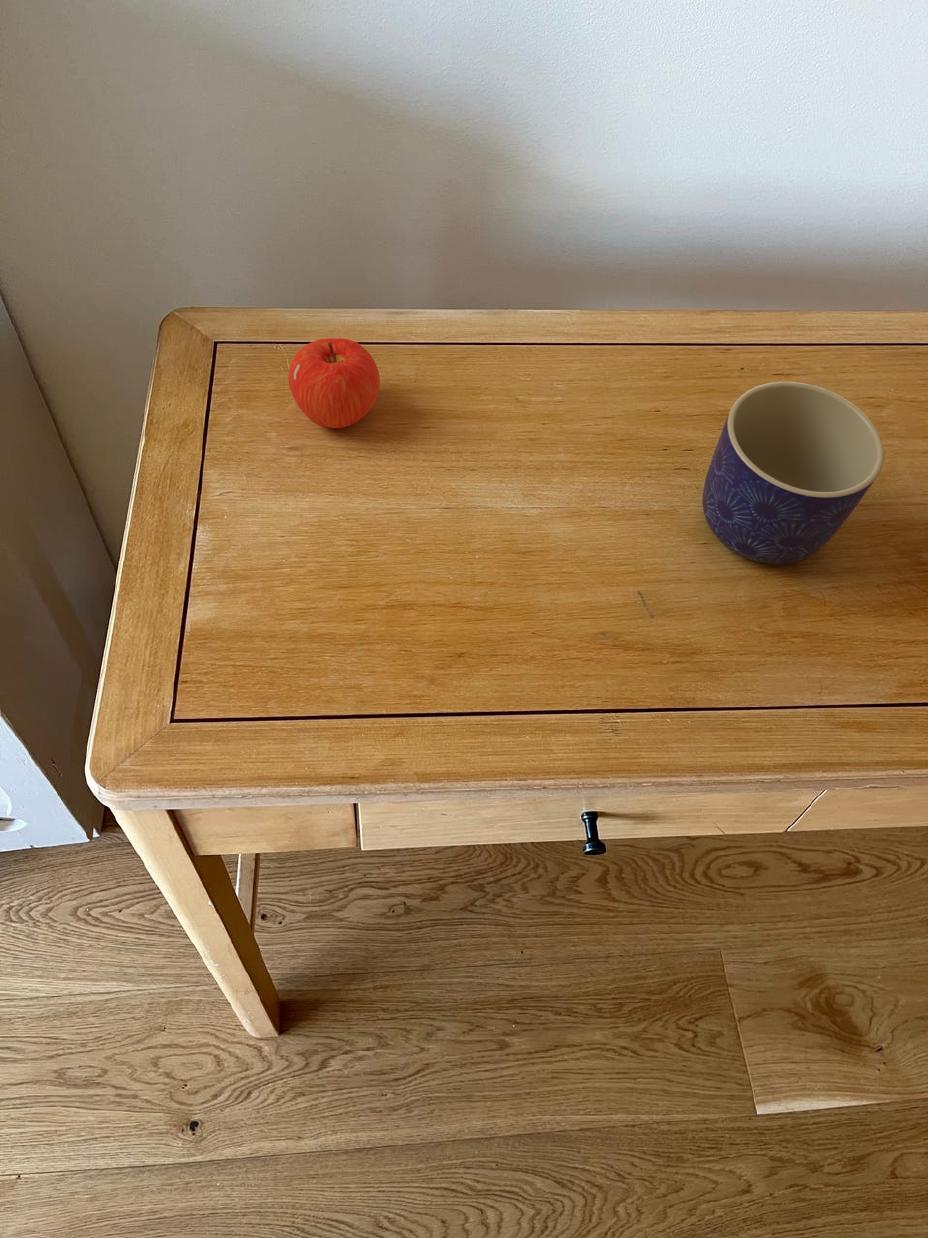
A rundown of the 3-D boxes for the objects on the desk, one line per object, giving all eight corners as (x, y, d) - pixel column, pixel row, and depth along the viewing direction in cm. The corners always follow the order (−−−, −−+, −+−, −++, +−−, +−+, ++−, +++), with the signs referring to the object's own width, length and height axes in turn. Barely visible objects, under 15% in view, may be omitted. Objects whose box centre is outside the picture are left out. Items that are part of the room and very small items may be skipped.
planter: (665, 533, 81) (701, 445, 72) (726, 449, 87) (766, 359, 77) (796, 604, 77) (851, 522, 68) (849, 512, 83) (906, 425, 74)
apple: (306, 452, 83) (299, 385, 76) (283, 391, 87) (274, 321, 80) (391, 433, 85) (392, 365, 78) (364, 373, 89) (362, 305, 82)
